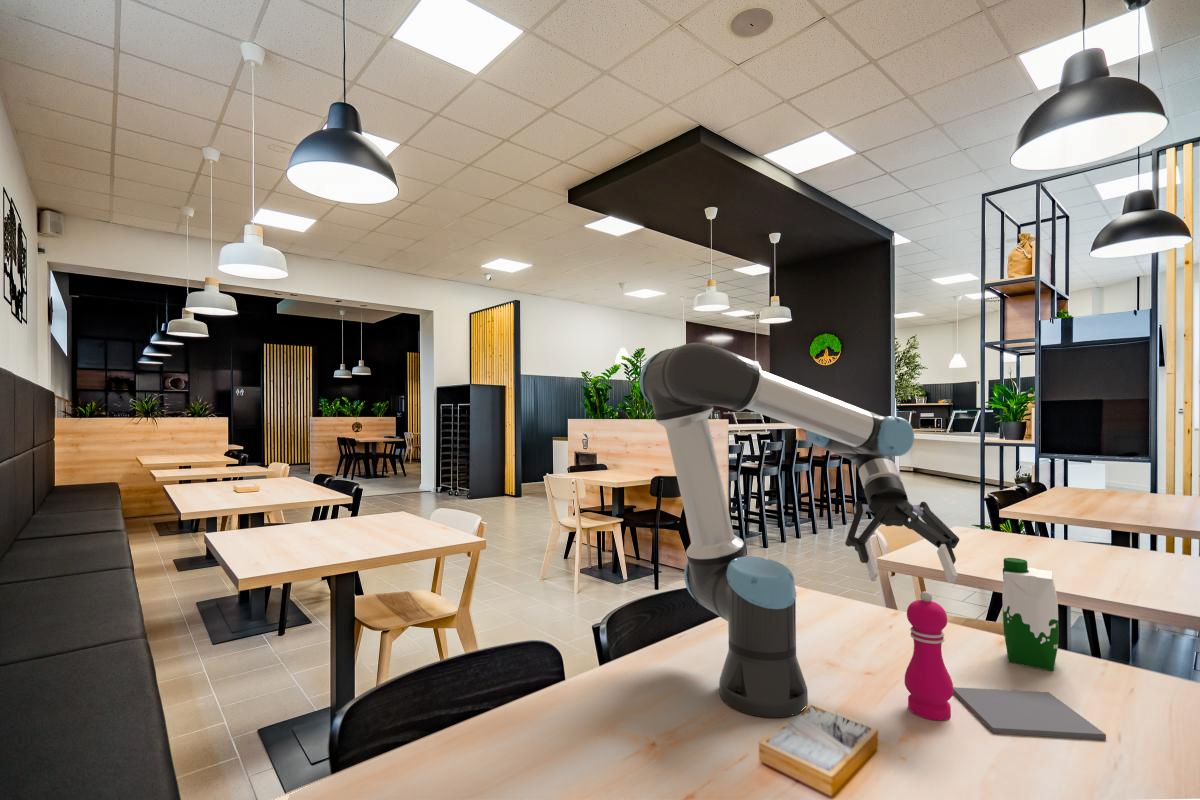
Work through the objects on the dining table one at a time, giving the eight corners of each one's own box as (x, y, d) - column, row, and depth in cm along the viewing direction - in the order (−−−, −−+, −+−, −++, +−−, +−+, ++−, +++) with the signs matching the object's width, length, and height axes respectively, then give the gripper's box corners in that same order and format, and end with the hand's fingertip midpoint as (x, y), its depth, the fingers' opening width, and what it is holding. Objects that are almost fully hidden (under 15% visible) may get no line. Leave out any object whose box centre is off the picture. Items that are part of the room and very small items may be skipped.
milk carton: (1005, 649, 125) (1002, 554, 125) (1059, 659, 119) (1056, 560, 120) (1003, 662, 118) (1000, 562, 118) (1060, 674, 112) (1056, 569, 113)
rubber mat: (993, 733, 92) (993, 727, 92) (951, 691, 105) (951, 687, 105) (1106, 739, 89) (1105, 734, 89) (1048, 696, 103) (1048, 691, 103)
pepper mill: (963, 722, 95) (960, 597, 95) (918, 722, 95) (915, 598, 96) (938, 701, 102) (935, 585, 103) (897, 701, 102) (894, 585, 103)
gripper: (940, 497, 123) (979, 590, 108) (817, 496, 126) (838, 586, 111) (951, 474, 118) (994, 569, 103) (823, 474, 121) (846, 566, 106)
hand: (913, 578), depth 107 cm, fingers open, 13 cm apart
